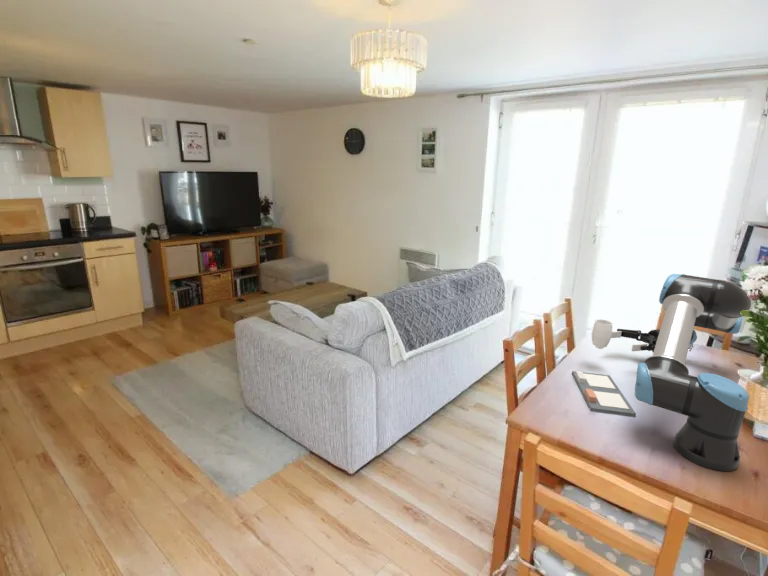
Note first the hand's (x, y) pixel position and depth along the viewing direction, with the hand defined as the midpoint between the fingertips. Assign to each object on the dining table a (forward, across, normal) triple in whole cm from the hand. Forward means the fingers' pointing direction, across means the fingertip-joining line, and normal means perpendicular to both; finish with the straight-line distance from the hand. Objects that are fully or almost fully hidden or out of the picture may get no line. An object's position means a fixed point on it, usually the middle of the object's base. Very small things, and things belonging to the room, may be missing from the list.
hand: (619, 341), depth 171 cm
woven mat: (-50, +14, -12) cm, 53 cm away
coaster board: (+23, -18, -12) cm, 31 cm away
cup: (+10, 0, -12) cm, 15 cm away
